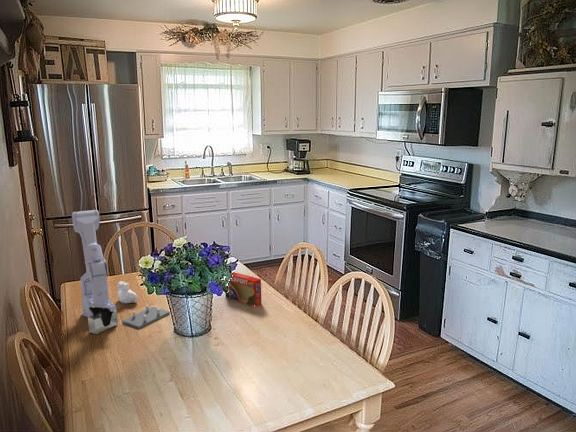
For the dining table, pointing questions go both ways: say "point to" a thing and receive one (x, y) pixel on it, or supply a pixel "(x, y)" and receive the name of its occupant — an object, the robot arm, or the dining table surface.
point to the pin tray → (145, 317)
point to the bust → (126, 293)
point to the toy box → (245, 289)
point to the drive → (101, 323)
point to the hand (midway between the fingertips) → (103, 324)
